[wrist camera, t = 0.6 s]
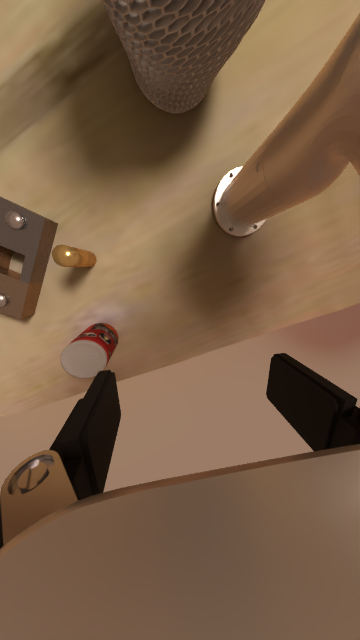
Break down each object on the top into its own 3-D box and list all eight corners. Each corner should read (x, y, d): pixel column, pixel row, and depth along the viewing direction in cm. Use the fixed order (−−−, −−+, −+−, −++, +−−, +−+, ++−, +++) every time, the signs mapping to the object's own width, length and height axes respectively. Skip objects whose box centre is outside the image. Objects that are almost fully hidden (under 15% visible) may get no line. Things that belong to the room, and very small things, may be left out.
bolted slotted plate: (11, 202, 32) (-12, 191, 27) (57, 223, 33) (42, 216, 29) (-8, 299, 36) (-31, 304, 31) (34, 314, 38) (18, 320, 33)
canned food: (125, 337, 42) (115, 361, 32) (102, 357, 43) (84, 386, 32) (102, 315, 40) (82, 332, 29) (77, 336, 40) (50, 360, 30)
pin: (82, 248, 35) (55, 240, 26) (98, 255, 36) (77, 250, 26) (78, 263, 36) (49, 261, 26) (93, 269, 37) (71, 270, 27)
